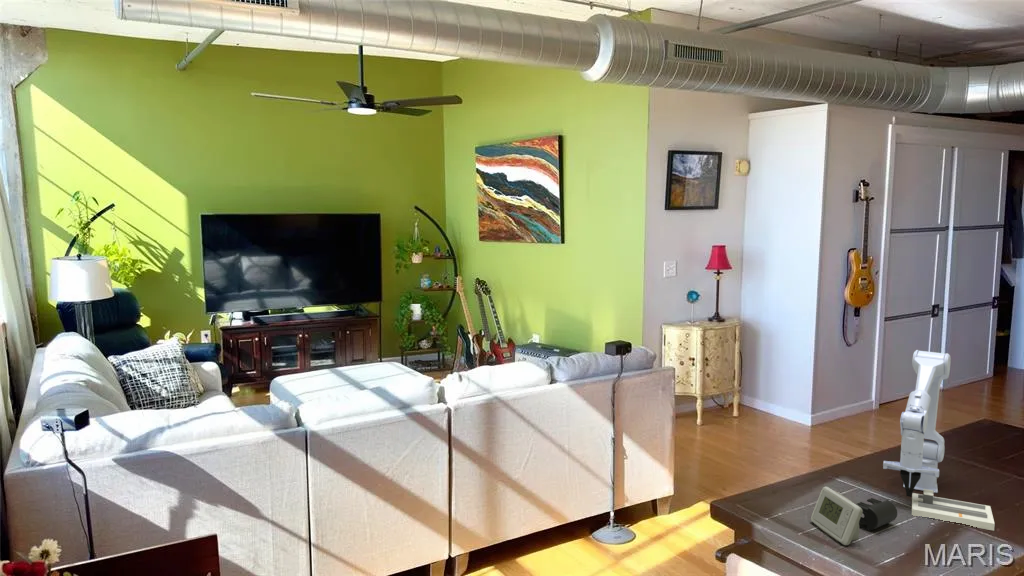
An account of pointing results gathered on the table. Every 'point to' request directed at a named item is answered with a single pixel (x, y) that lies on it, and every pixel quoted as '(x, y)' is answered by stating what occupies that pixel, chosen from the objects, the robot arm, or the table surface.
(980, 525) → the console
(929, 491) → the fader tab
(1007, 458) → the table surface
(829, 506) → the digital clock
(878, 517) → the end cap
